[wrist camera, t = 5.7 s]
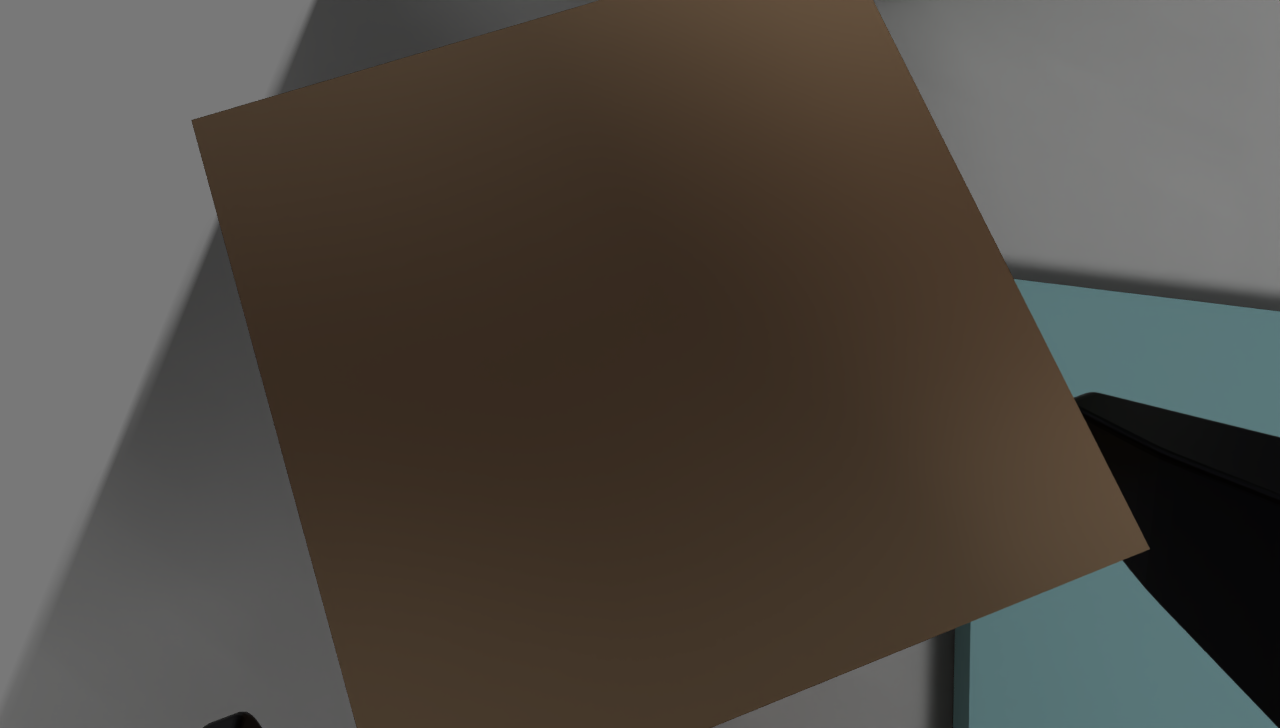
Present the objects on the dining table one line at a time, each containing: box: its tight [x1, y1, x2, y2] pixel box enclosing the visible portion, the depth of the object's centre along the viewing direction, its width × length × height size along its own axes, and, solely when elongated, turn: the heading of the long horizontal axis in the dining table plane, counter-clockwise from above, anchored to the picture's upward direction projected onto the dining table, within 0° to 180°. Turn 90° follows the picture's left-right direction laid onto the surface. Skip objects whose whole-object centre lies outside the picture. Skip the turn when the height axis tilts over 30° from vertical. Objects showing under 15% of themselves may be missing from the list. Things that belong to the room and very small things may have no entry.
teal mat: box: [953, 279, 1280, 728], centre depth 18 cm, size 12×12×1 cm
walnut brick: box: [192, 0, 1150, 728], centre depth 12 cm, size 5×5×13 cm
